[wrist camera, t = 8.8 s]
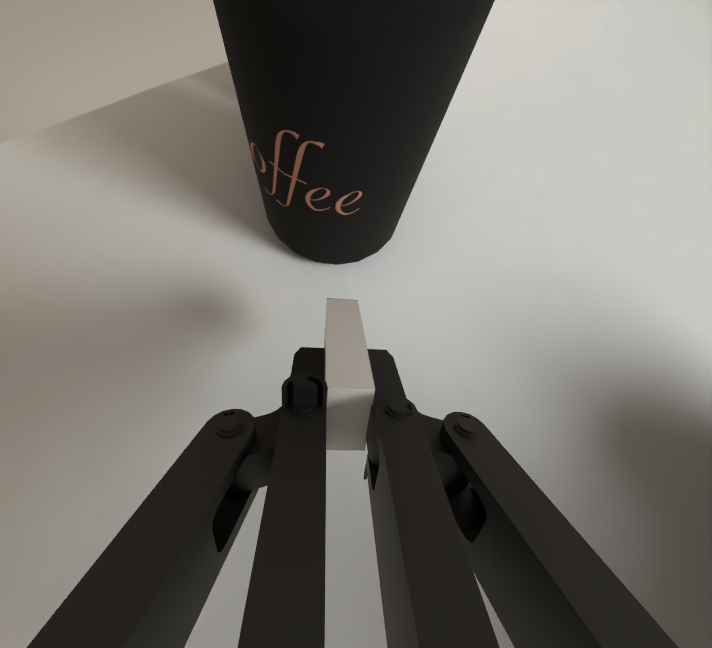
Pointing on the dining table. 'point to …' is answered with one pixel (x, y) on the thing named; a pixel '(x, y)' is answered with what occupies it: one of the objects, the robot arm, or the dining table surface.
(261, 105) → the coffee jar
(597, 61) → the dining table surface
